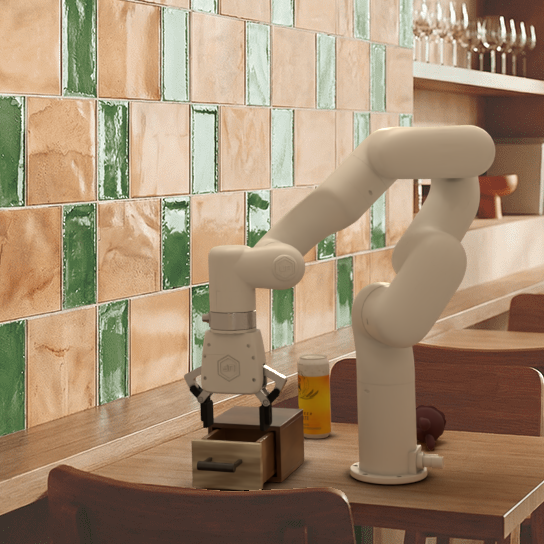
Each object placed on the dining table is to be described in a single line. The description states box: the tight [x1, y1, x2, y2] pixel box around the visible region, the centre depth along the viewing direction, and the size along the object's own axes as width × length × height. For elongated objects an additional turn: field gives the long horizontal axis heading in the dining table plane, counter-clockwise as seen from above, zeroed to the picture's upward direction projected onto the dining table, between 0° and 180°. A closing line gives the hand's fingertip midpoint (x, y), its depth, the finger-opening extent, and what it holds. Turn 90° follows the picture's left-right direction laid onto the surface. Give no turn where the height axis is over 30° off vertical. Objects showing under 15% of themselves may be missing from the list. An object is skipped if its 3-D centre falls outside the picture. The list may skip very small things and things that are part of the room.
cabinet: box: [207, 405, 305, 483], centre depth 197 cm, size 14×13×9 cm
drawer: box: [191, 428, 277, 491], centre depth 186 cm, size 17×11×7 cm, turn 159°
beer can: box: [296, 353, 332, 439], centre depth 221 cm, size 6×6×15 cm
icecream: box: [416, 404, 447, 451], centre depth 213 cm, size 7×7×15 cm
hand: (236, 427), depth 187 cm, fingers open, 9 cm apart
